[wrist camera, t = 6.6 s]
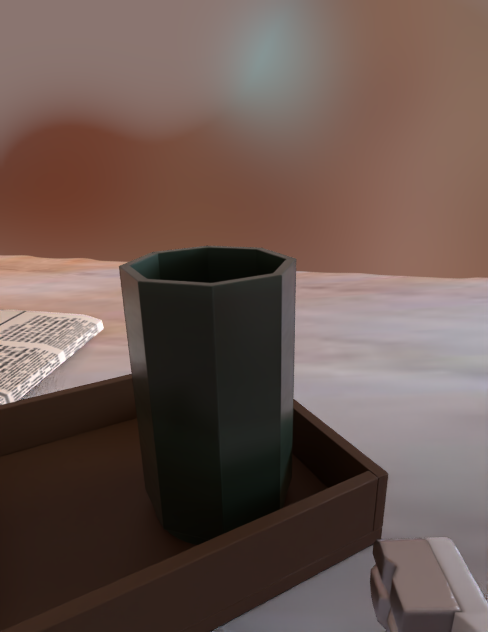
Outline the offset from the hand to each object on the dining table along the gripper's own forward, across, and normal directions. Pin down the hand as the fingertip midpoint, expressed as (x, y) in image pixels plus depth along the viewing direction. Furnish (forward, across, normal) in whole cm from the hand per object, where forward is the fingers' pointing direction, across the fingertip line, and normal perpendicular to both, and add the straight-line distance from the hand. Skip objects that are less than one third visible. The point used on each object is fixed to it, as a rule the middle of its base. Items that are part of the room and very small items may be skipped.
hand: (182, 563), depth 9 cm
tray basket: (+11, +4, +9) cm, 15 cm away
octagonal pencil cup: (+11, 0, +8) cm, 14 cm away
